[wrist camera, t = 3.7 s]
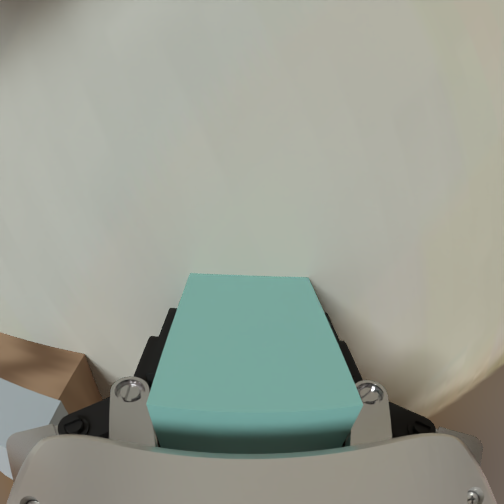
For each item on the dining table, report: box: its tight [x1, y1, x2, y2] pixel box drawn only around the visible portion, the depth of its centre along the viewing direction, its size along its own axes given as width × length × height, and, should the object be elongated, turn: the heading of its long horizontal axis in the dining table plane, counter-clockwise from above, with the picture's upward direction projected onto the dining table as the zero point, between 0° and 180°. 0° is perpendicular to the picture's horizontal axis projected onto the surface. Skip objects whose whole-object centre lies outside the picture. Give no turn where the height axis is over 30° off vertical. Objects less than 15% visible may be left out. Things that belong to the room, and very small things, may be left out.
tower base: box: [0, 333, 103, 414], centre depth 13 cm, size 8×8×4 cm
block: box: [146, 273, 363, 454], centre depth 10 cm, size 5×5×7 cm
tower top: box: [0, 378, 68, 479], centre depth 10 cm, size 8×8×4 cm
